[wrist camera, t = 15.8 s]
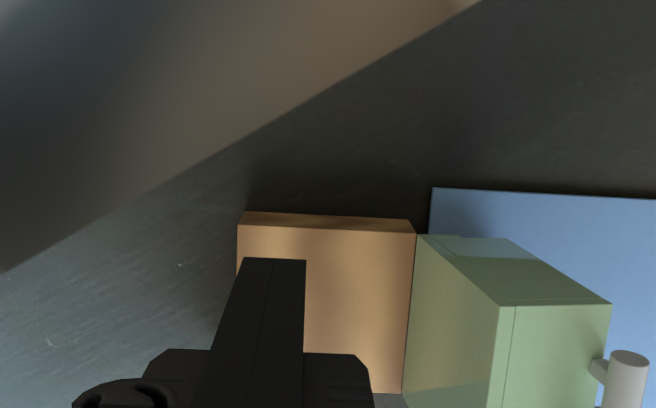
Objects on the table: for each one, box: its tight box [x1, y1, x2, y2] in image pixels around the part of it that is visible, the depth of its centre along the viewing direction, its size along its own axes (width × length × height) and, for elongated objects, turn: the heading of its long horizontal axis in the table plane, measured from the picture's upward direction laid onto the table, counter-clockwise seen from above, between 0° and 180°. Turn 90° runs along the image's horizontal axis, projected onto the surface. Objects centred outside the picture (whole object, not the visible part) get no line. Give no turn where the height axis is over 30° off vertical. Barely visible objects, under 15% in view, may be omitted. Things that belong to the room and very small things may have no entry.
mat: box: [427, 187, 656, 408], centre depth 43 cm, size 27×16×1 cm, turn 87°
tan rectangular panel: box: [236, 211, 417, 393], centre depth 41 cm, size 11×11×4 cm
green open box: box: [402, 234, 650, 408], centre depth 33 cm, size 14×11×6 cm
